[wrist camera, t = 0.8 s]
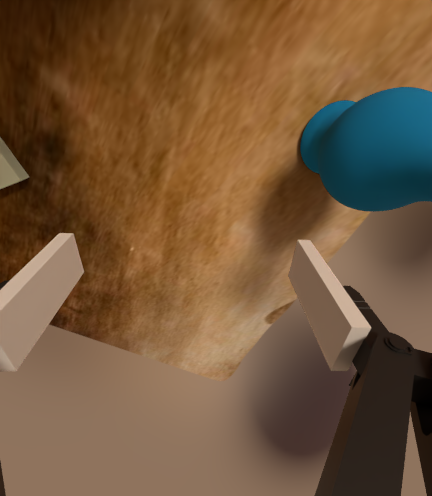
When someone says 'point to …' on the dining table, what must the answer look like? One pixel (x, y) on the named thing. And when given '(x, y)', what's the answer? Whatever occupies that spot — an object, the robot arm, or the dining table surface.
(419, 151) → the vase
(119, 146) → the dining table surface
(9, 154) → the pale green rectangular frame
